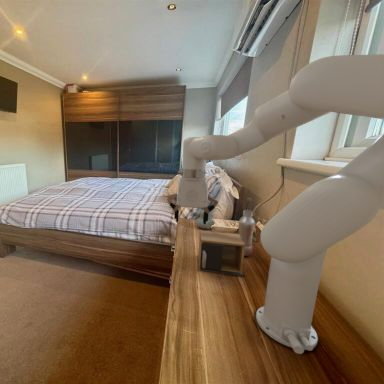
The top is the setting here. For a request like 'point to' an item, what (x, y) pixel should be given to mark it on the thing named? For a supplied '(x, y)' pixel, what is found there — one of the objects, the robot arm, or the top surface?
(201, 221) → the air freshener
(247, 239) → the plastic bottle
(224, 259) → the cabinet
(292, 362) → the top surface
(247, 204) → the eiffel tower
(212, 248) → the sliding door
